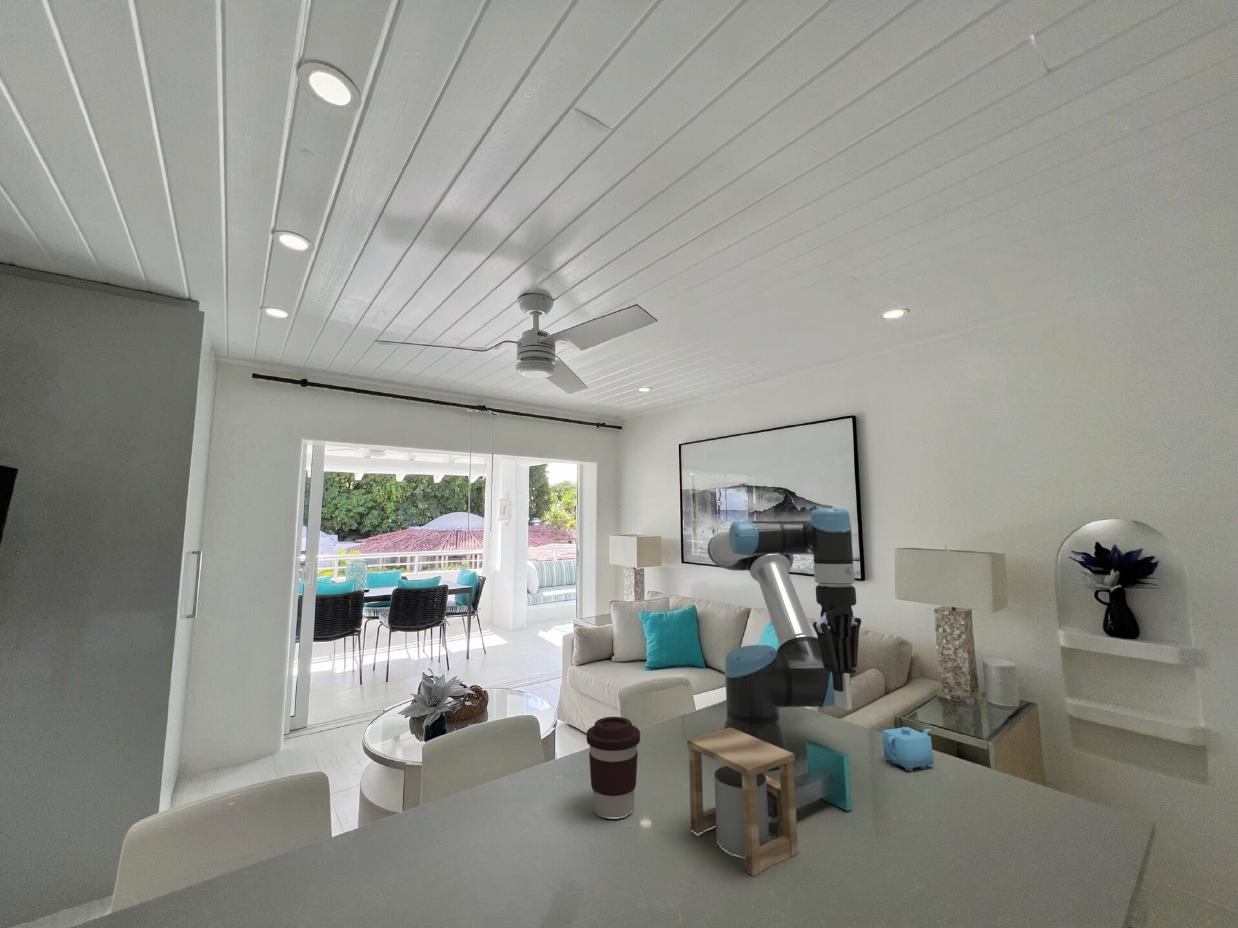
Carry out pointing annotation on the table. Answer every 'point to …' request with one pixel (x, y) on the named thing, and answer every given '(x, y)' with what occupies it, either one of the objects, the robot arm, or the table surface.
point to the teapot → (908, 747)
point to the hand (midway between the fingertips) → (843, 707)
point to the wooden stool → (748, 791)
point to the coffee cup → (613, 765)
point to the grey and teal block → (820, 780)
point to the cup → (737, 810)
